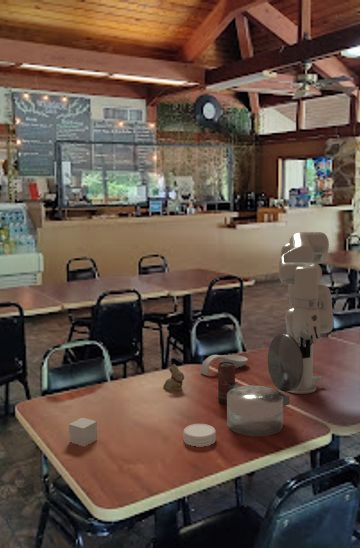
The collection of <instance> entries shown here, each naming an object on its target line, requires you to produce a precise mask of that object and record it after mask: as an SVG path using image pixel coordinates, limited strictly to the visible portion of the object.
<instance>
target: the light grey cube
mask: <svg viewBox="0 0 360 548" xmlns="http://www.w3.org/2000/svg"><path fill="white" fill-rule="evenodd" d="M68 431H69V433H68V434H69V443H70V442H72V443H71V444H73V443H75V444H74V445H76V444H78V445H77V446H80V445H81V446H80V447H83V446H84V447H87V446H89V445H90V444H92V443H94V442H96V441H98V422H97V421H96V420H94V419H93V420H92V419H90V418H85V417H80V418H78V419H76V420H75V421H72V422H71V423H69V424H68ZM88 444H89V445H88ZM86 445H87V446H86ZM84 447H83V448H84Z"/></svg>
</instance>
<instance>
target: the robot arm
mask: <svg viewBox="0 0 360 548" xmlns="http://www.w3.org/2000/svg"><path fill="white" fill-rule="evenodd" d="M329 242H330V241H329V238H328V236H327V234H325V233H324V232H321V231H319V232H318V231H314V232H313V231H308V232H307V231H304V232H303V231H300V232H296V233H294V234H292V235H291V236H290V238H289V243H286V244H284V245H282V247H281V252H280V259H279V262H278V277H279V278H278V279H279V280H280V282H281V283H282V284H284V285H287V287H288V288H287V290H288V302H289V305H290V307H291V308H289V309H288V310H287V311H286V313H285V315H284V316H285V319H284V320H285V327H286V334H288V335H290V336H292V337H293V338H294V339H295V340H296V342H297V343H298V345H299V347H300V350H301V353H302V358H303V374H302V379H301V381H300V384H299V385H298V387H297V388H296V389H295V390H293V391H288V393H292V394H296V395H297V394H298V395H303V394H304V395H307V394H312V393H314V392H315V391H317V385H316V383H321V382H323V381H324V377H323V376H316V375H313V372H314V371H313V367H314V366H313V365H314V363H313V362H314V360H313V359H314V344H317V339H320V338H321V334H328V333H330V332H332V330H333V327H334V313H333V303H332V302H333V301H332V295H331V291H330V288H329V287H328V286H327V285H326V284H319V282H320V281H321V280H322V277H323V270H322V267H321V266H320V264H323V263H324V262H325V261H326V258H327V255H328V253H329V248H330V247H329V246H330V243H329Z"/></svg>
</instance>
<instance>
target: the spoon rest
mask: <svg viewBox="0 0 360 548" xmlns="http://www.w3.org/2000/svg"><path fill="white" fill-rule="evenodd" d="M215 360H219V361H220V363H222V362H231V363H234V365H235V369H240V368H241V367H243V366H245V365H246V364H247V362H248V360H249V359H248V358H247V357H245V356H243V355H237V354H236V355H235V354H224V355H222V354H221V355H219V354H212V355H209V356H208V357H207V358H206V359H205V360H204V361H203V362H202V364H201V367H200V375H204V376H209V372H210V370H209V369H210V365H211V363H212V362H214V361H215ZM239 367H240V368H239Z"/></svg>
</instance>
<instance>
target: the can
mask: <svg viewBox="0 0 360 548" xmlns="http://www.w3.org/2000/svg"><path fill="white" fill-rule="evenodd" d="M236 369H237V368H235V365H234V363H231V362H219V363H218V366H217V390H218V391H217V400H218V402H219V403H221V404H224V405H227V393H228V392H229V391H230V390H231V389H229V388H228V383H234V382H235V383H236Z"/></svg>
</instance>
